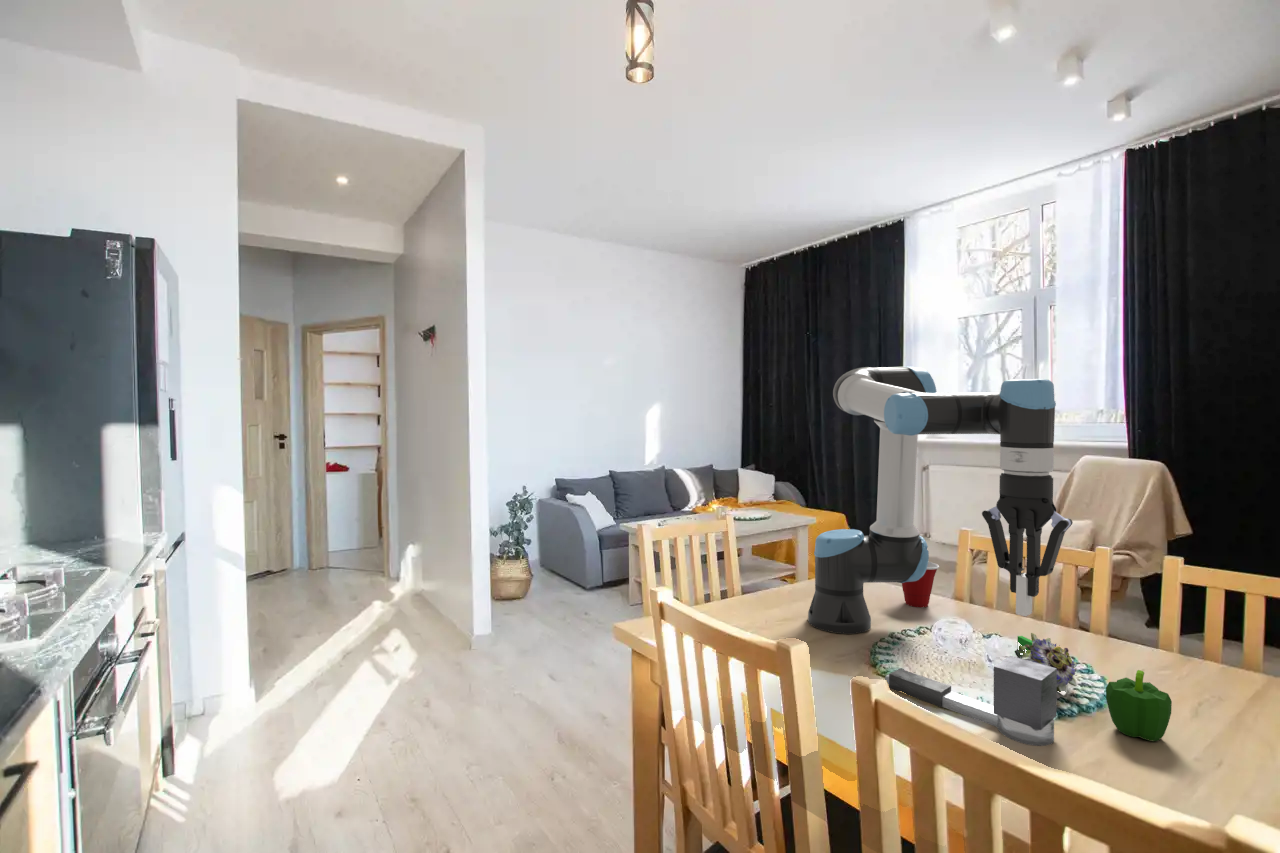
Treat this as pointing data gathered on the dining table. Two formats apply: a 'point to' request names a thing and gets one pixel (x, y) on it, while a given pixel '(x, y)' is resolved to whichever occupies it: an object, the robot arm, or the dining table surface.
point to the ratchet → (967, 707)
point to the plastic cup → (920, 588)
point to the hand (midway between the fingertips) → (1023, 613)
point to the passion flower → (1050, 659)
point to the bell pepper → (1138, 707)
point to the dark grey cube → (1025, 692)
